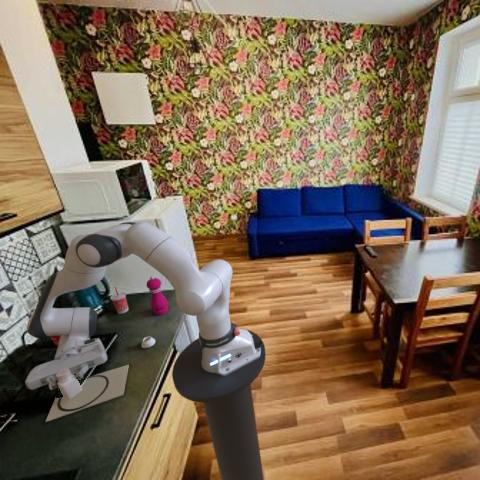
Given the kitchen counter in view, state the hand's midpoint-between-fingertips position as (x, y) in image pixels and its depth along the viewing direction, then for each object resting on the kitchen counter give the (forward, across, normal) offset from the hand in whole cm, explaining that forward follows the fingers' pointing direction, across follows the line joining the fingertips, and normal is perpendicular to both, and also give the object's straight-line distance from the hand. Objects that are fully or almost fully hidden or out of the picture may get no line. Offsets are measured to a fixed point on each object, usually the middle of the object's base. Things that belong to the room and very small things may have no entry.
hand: (66, 382), depth 85 cm
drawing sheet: (-2, +4, +9) cm, 10 cm away
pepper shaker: (-1, 0, +6) cm, 6 cm away
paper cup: (-38, -7, +9) cm, 40 cm away
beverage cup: (-49, +14, +9) cm, 52 cm away
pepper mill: (-38, +29, +9) cm, 49 cm away
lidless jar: (-16, +22, +9) cm, 29 cm away
